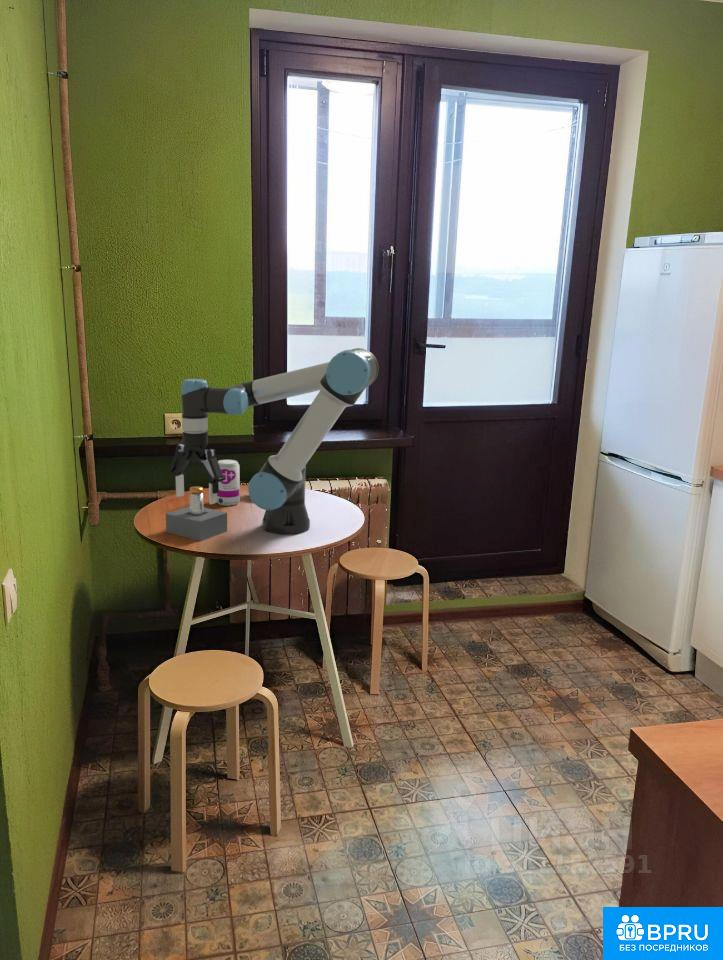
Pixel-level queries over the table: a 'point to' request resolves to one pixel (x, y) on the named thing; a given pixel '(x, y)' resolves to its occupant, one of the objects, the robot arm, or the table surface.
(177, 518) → the block
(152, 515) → the table surface
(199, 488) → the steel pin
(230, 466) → the supplement can
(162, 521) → the table surface
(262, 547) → the table surface
